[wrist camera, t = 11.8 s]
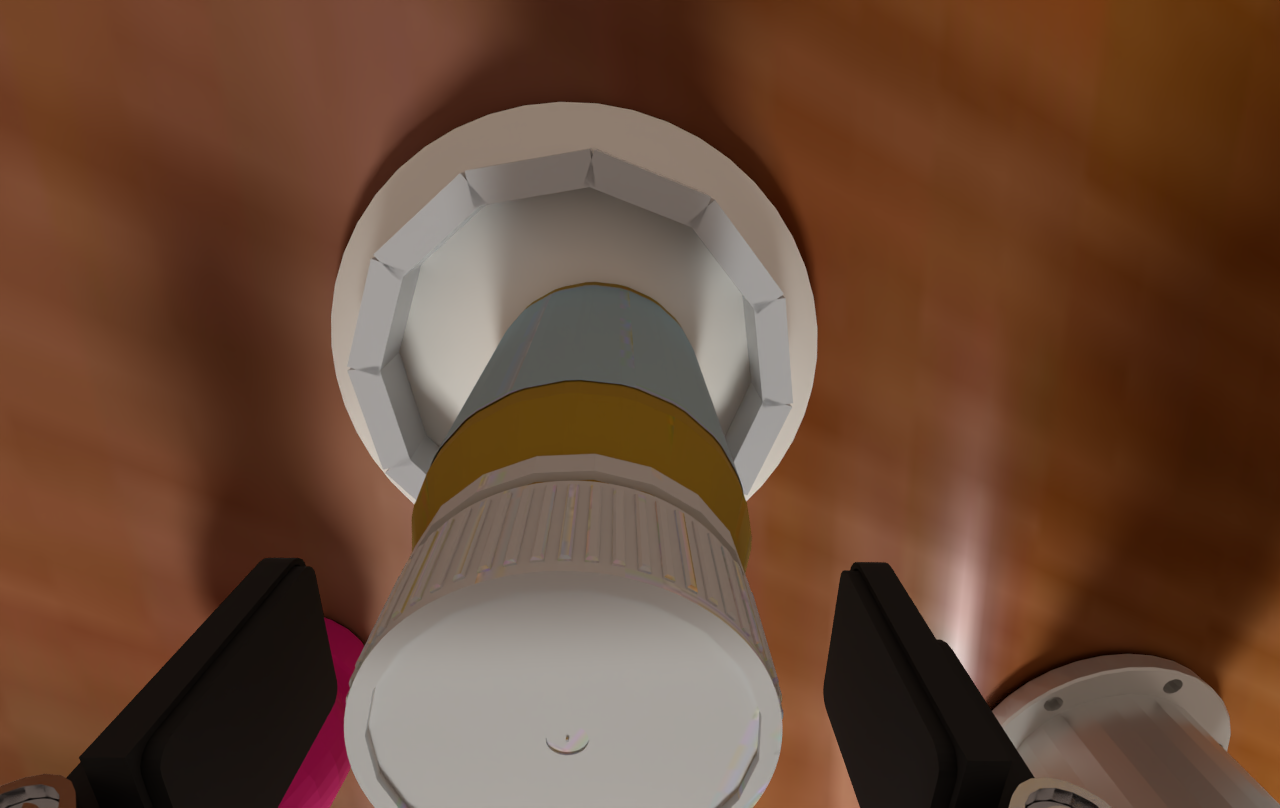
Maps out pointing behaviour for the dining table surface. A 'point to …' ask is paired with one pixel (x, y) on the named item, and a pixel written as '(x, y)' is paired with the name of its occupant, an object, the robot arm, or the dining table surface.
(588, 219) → the collar base
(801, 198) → the dining table surface
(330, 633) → the pepper mill
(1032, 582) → the dining table surface
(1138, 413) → the dining table surface
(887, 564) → the robot arm
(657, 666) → the bottle
